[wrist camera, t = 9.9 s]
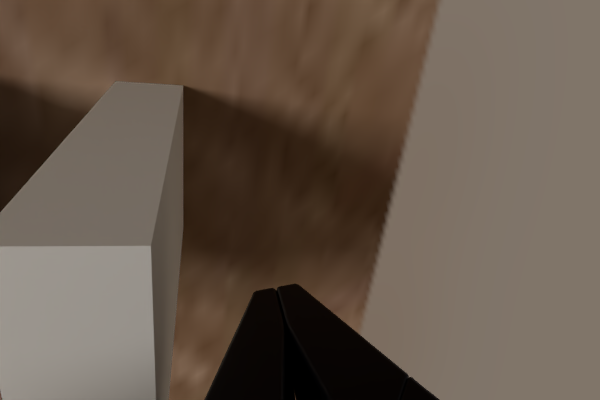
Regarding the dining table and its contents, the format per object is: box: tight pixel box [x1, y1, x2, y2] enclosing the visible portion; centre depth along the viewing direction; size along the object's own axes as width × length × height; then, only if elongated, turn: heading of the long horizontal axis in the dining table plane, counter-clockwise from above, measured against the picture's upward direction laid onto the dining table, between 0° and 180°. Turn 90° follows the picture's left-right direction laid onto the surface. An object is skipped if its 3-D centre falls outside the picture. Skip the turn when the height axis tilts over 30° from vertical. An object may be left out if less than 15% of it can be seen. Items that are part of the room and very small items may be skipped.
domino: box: [0, 81, 183, 400], centre depth 11 cm, size 2×5×10 cm, turn 174°
